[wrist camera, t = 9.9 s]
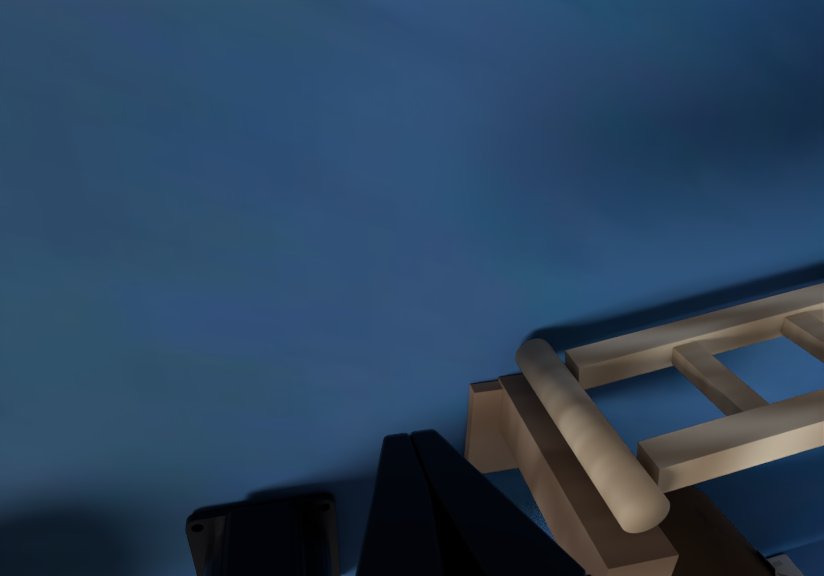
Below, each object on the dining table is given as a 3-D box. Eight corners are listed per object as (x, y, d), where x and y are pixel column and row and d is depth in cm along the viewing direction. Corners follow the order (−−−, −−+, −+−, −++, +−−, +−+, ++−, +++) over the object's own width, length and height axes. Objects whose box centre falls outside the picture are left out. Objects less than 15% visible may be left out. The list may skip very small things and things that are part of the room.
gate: (516, 373, 24) (619, 539, 17) (514, 343, 23) (622, 504, 16) (854, 283, 26) (1076, 399, 19) (863, 253, 25) (1098, 361, 18)
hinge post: (558, 451, 28) (675, 643, 20) (463, 466, 27) (545, 674, 19) (574, 367, 26) (715, 547, 18) (470, 380, 25) (568, 577, 17)
